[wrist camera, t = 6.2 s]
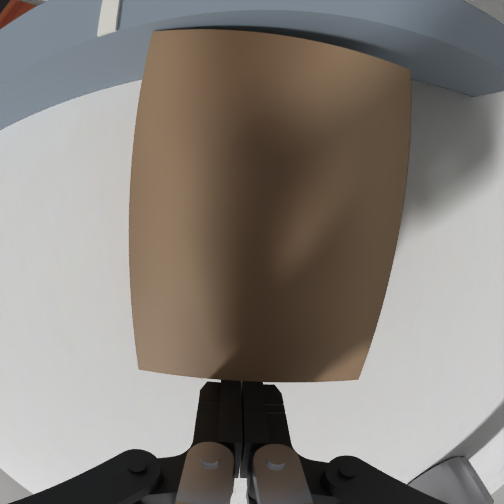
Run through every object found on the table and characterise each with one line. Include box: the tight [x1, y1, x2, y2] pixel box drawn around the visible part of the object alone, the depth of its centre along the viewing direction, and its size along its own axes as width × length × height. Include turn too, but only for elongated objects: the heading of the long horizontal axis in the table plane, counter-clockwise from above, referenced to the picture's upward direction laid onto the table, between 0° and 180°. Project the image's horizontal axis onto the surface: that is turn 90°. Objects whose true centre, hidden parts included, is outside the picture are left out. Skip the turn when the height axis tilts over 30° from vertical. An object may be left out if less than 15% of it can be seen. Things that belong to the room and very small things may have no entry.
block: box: [129, 29, 411, 382], centre depth 10 cm, size 8×11×4 cm
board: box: [0, 0, 504, 130], centre depth 8 cm, size 30×3×5 cm, turn 94°
